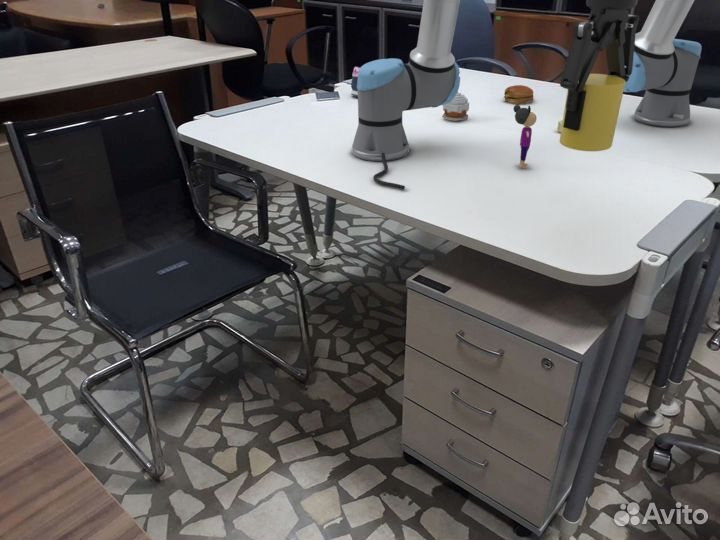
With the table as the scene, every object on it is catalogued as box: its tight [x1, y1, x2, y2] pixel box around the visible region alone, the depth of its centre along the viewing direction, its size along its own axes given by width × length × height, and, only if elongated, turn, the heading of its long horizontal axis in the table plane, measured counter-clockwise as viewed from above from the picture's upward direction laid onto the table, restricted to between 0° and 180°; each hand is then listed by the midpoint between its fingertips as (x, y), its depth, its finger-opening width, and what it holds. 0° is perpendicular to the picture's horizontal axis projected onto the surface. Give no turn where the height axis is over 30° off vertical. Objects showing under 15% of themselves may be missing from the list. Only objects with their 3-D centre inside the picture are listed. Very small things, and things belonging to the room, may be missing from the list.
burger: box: [503, 84, 534, 105], centre depth 195 cm, size 10×9×5 cm
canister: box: [558, 73, 625, 152], centre depth 99 cm, size 9×9×11 cm
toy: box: [512, 104, 537, 169], centre depth 139 cm, size 10×6×15 cm, turn 168°
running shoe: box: [350, 66, 361, 98], centre depth 209 cm, size 9×26×11 cm, turn 138°
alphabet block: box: [557, 119, 563, 133], centre depth 165 cm, size 3×3×3 cm
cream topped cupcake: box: [442, 91, 470, 122], centre depth 176 cm, size 8×8×15 cm
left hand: (588, 123), depth 100 cm, fingers closed on canister, 9 cm apart
